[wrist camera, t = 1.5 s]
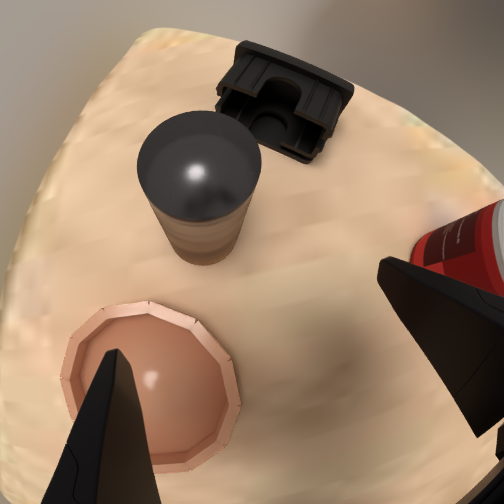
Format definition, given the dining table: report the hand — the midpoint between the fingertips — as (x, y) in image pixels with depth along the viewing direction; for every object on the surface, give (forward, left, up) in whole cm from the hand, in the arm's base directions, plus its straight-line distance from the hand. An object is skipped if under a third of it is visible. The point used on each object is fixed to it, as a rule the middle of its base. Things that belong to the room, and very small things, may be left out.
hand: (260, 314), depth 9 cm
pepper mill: (+6, +1, -13) cm, 14 cm away
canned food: (-1, -20, -13) cm, 24 cm away
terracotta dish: (-5, +7, -13) cm, 15 cm away
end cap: (+16, -7, -13) cm, 22 cm away
